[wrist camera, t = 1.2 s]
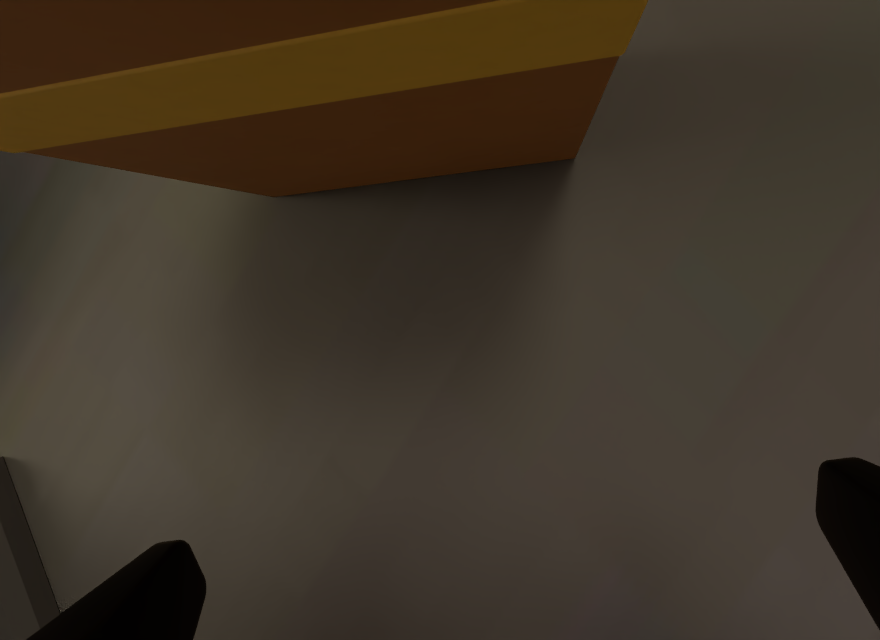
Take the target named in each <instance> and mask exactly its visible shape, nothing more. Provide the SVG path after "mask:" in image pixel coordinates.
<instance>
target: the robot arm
mask: <svg viewBox="0 0 880 640" xmlns="http://www.w3.org/2000/svg"><path fill="white" fill-rule="evenodd" d="M816 517H817V520H818V523H819V526H820V528H821V530H822V532H823V533H824V535H825V537H826V539H827V540H828V542H829V544H830V545H831V547H832V549H833V551H834V552H835V554H836V556H837V558H838V559H839V561H840V563H841V564H842V566H843V568H844V570H845V571H846V573H847V575H848V577H849V578H850V580H851V582H852V584H853V585H854V587H855V589H856V590H857V592H858V594H859V596H860V597H861V599H862V601H863V603H864V604H865V606H866V608H867V609H868V611H869V613H870V615H871V616H872V618H873V620H874V622H875V623H876V625H877V627H878V628H879V630H880V466H878V465H875V464H873V463H870V462H868V461H865V460H863V459H860V458H856V457H850V458H842V459H834V460H827V461H825V462H823V463H822V464H821V465H820V467H819V471H818V483H817V496H816ZM205 596H206V581H205V577H204V575H203V573H202V571H201V569H200V567H199V564H198V562H197V560H196V558H195V556H194V554H193V551H192V549H191V547H190V545H189V544H188V543H187V542H185V541H183V540H174V541H166V542H160V543H157V544H155V545H153V546H152V547H150V548H149V549H147V550H146V551H145V552H143V553H142V554H141V555H139V556H138V557H137V558H135V559H134V560H133V561H131V562H130V563H129V564H127V565H126V566H125V567H123V568H122V569H120V570H119V571H118V572H116V573H115V574H114V575H112V576H111V577H110V578H108V579H107V580H106V581H104V582H103V583H102V584H100V585H99V586H98V587H96V588H95V589H93V590H92V591H91V592H89V593H88V594H87V595H85V596H84V597H83V598H81V599H80V600H79V601H77V602H76V603H75V604H73V605H72V606H71V607H69V608H68V609H66V610H65V611H64V612H62V613H61V614H60V615H58V616H57V617H56V618H54V619H53V620H52V621H50V622H49V623H48V624H46V625H45V626H44V627H42V628H41V629H39V630H38V631H37V632H35V633H34V634H33V635H31V636H30V637H29V638H27V639H26V640H193V638H194V635H195V631H196V628H197V624H198V621H199V617H200V614H201V610H202V607H203V603H204V600H205Z"/></svg>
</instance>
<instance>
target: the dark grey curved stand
mask: <svg viewBox="0 0 880 640" xmlns="http://www.w3.org/2000/svg"><path fill="white" fill-rule="evenodd" d="M58 615H60V612H59V610H58V607H57V604H56V601H55V599H54V596H53V593H52V590H51V588H50V585H49V582H48V579H47V577H46V574H45V571H44V568H43V566H42V563H41V560H40V557H39V555H38V552H37V549H36V546H35V544H34V541H33V538H32V535H31V533H30V530H29V527H28V524H27V522H26V519H25V516H24V513H23V511H22V508H21V505H20V502H19V500H18V497H17V494H16V491H15V489H14V486H13V483H12V481H11V478H10V475H9V472H8V470H7V467H6V464H5V461H4V459H3V457H0V640H26V639H27V638H29V637H30V636H31V635H33V634H34V633H35V632H37V631H38V630H39V629H41V628H42V627H44V626H45V625H46V624H48V623H49V622H50V621H52V620H53V619H54V618H56V617H57V616H58Z"/></svg>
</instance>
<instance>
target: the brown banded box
mask: <svg viewBox="0 0 880 640" xmlns="http://www.w3.org/2000/svg"><path fill="white" fill-rule="evenodd" d="M647 2H648V0H0V151H5V152H11V153H18V152H26V153H32V154H37V155H43V156H49V157H54V158H60V159H65V160H71V161H76V162H82V163H87V164H93V165H98V166H104V167H110V168H115V169H121V170H126V171H132V172H137V173H143V174H148V175H154V176H159V177H165V178H171V179H176V180H182V181H187V182H193V183H198V184H204V185H209V186H215V187H220V188H226V189H231V190H237V191H243V192H248V193H254V194H259V195H265V196H270V197H278V196H286V195H294V194H302V193H310V192H317V191H325V190H333V189H341V188H348V187H356V186H364V185H372V184H379V183H387V182H395V181H403V180H410V179H418V178H426V177H434V176H442V175H449V174H457V173H465V172H473V171H480V170H488V169H496V168H504V167H511V166H519V165H527V164H535V163H542V162H550V161H558V160H566V159H574V158H575V157H576V155H577V153H578V150H579V148H580V146H581V143H582V141H583V139H584V136H585V134H586V132H587V130H588V127H589V125H590V123H591V120H592V118H593V116H594V113H595V111H596V109H597V106H598V104H599V102H600V99H601V97H602V95H603V93H604V90H605V88H606V86H607V83H608V81H609V79H610V76H611V74H612V72H613V69H614V67H615V65H616V62H617V60H618V58H619V56H620V55H622V54H624V53H625V51H626V49H627V46H628V44H629V42H630V40H631V38H632V35H633V33H634V31H635V29H636V26H637V24H638V22H639V20H640V18H641V15H642V13H643V11H644V9H645V7H646V4H647Z"/></svg>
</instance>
